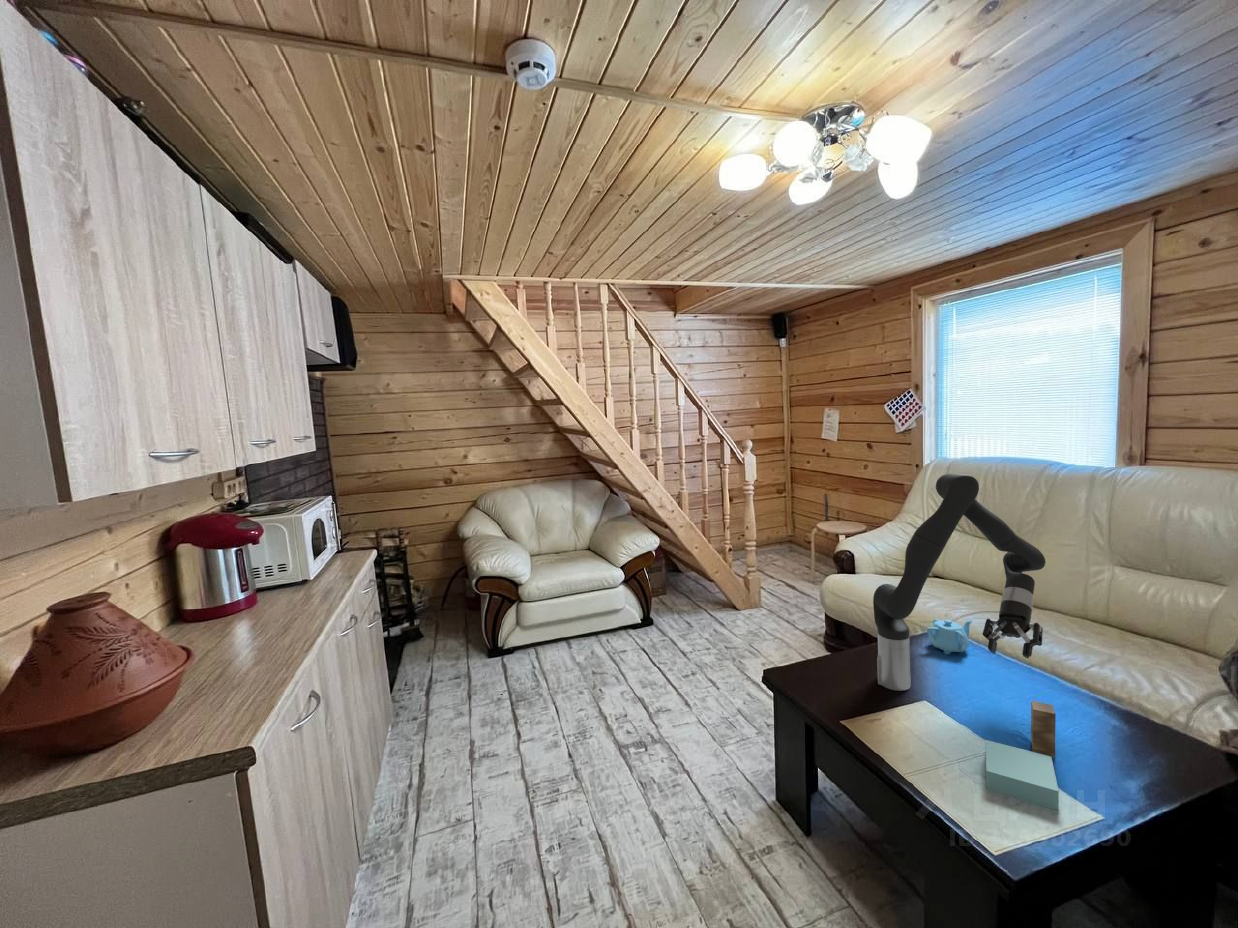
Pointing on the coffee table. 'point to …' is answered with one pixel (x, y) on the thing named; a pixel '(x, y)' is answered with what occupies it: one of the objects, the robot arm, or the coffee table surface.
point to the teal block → (1021, 774)
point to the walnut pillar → (1043, 728)
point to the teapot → (949, 635)
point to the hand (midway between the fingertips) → (1008, 654)
